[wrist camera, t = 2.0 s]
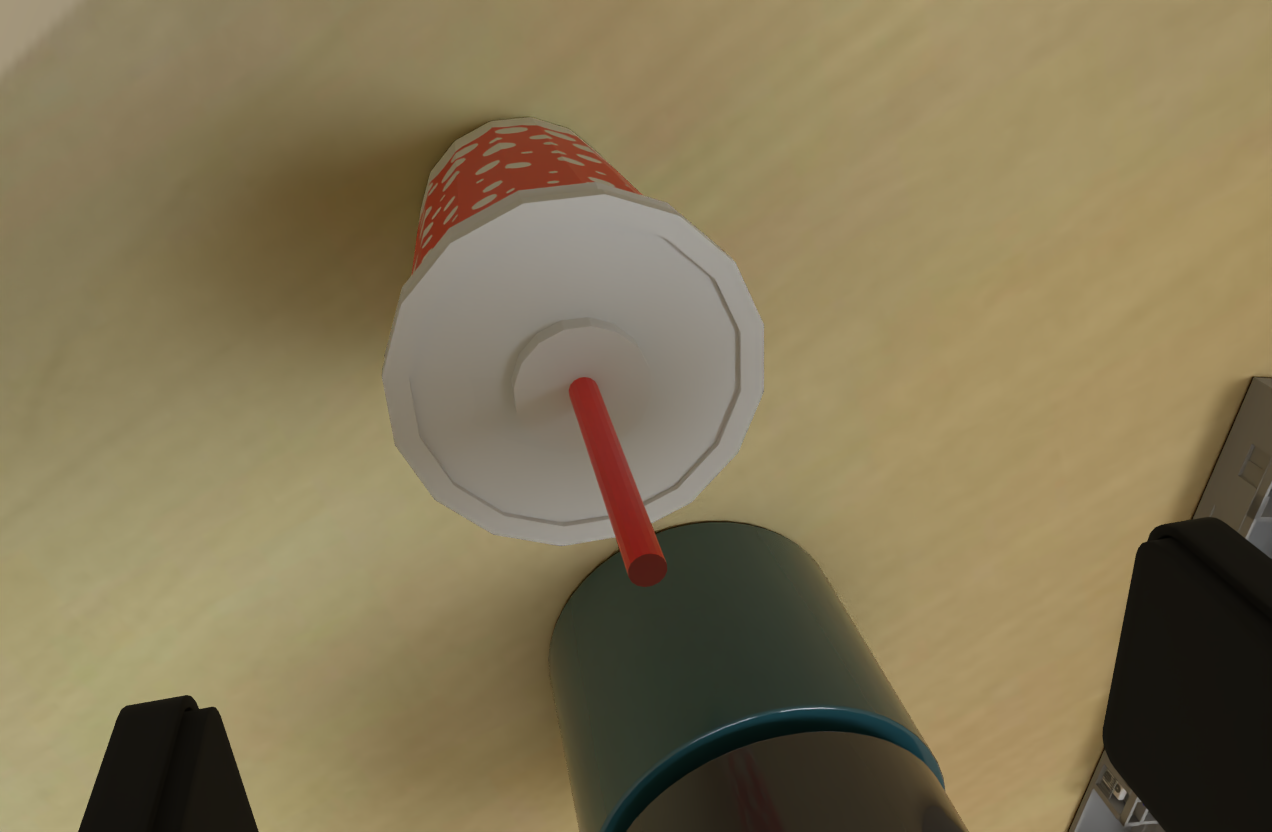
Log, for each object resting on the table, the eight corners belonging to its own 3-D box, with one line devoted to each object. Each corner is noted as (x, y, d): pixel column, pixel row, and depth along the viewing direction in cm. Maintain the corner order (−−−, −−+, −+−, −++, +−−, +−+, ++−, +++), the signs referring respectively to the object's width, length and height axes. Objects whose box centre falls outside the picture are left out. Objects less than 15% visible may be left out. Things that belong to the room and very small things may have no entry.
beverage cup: (632, 345, 26) (834, 755, 14) (382, 333, 25) (370, 778, 13) (668, 95, 24) (953, 341, 12) (390, 66, 22) (386, 310, 10)
